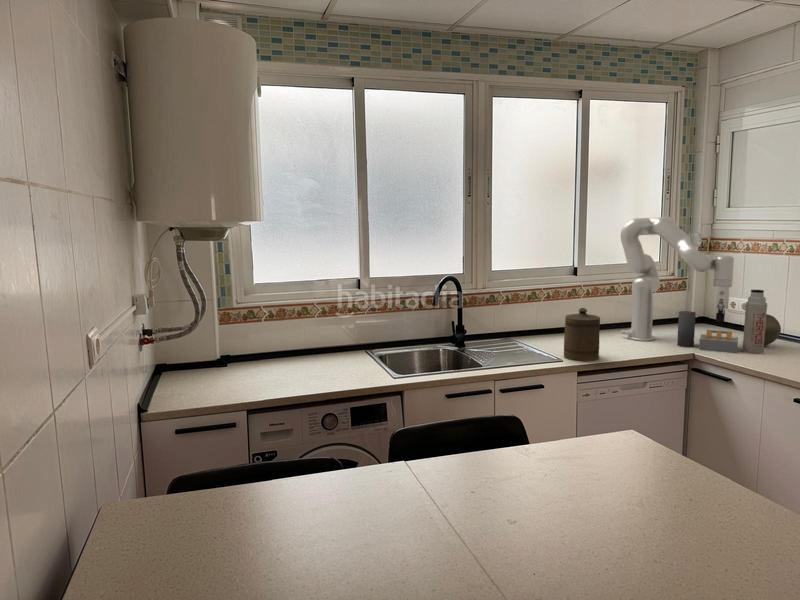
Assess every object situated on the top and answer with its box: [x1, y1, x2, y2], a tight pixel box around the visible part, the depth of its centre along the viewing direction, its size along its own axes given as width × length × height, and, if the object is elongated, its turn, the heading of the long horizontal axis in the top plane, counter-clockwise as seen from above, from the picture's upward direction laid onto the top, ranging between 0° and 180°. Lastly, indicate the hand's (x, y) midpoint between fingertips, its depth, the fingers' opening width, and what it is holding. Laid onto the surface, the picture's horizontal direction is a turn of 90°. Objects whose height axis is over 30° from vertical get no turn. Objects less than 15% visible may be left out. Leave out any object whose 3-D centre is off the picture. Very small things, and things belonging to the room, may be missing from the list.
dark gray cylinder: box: [676, 310, 697, 348], centre depth 265 cm, size 7×7×16 cm
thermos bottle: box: [742, 289, 768, 355], centre depth 251 cm, size 8×8×28 cm
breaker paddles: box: [706, 329, 733, 339], centre depth 258 cm, size 10×2×3 cm, turn 59°
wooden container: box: [563, 307, 601, 362], centre depth 248 cm, size 15×15×22 cm
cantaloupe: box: [764, 313, 782, 347], centre depth 262 cm, size 14×14×15 cm
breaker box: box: [698, 333, 739, 354], centre depth 259 cm, size 15×12×5 cm
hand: (720, 320), depth 258 cm, fingers open, 9 cm apart
